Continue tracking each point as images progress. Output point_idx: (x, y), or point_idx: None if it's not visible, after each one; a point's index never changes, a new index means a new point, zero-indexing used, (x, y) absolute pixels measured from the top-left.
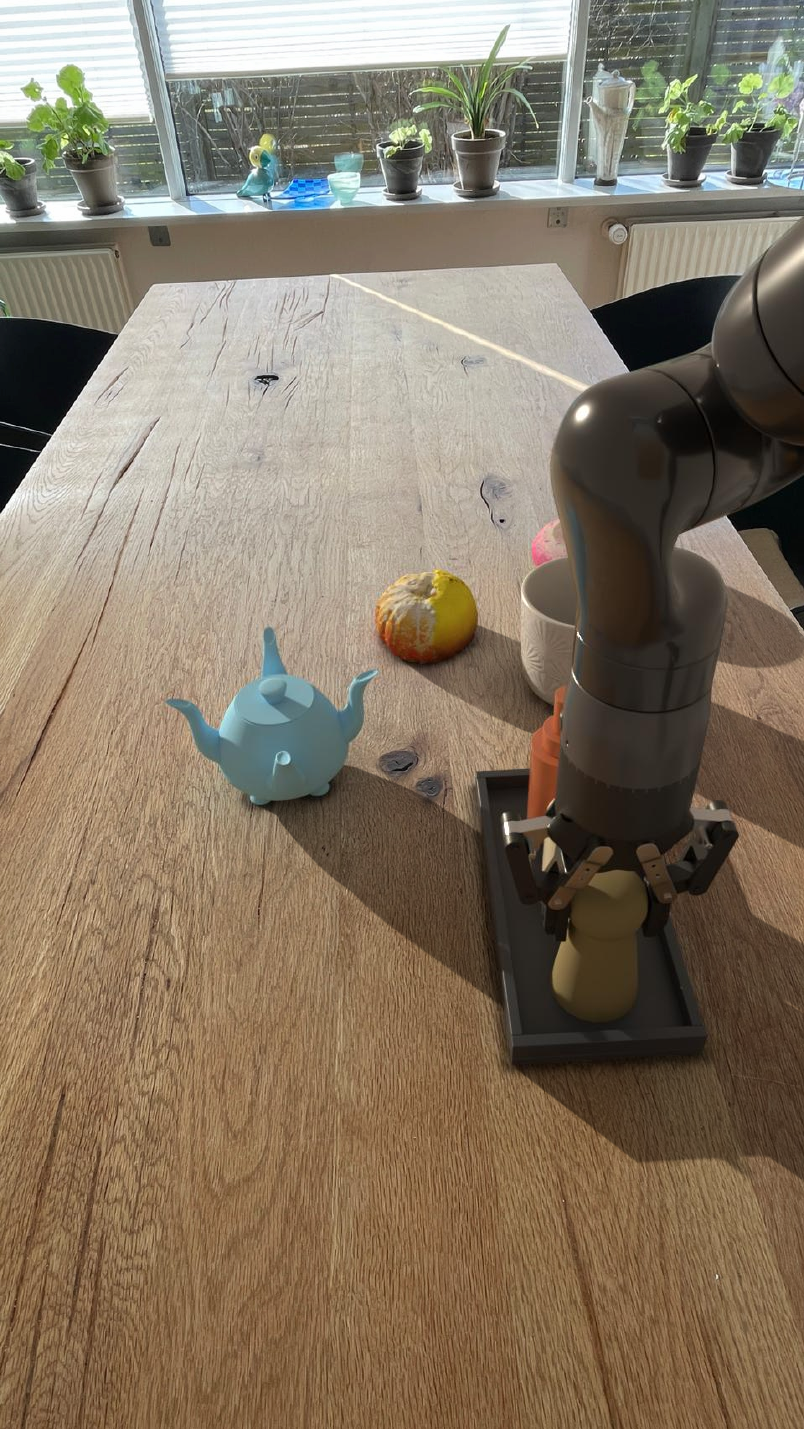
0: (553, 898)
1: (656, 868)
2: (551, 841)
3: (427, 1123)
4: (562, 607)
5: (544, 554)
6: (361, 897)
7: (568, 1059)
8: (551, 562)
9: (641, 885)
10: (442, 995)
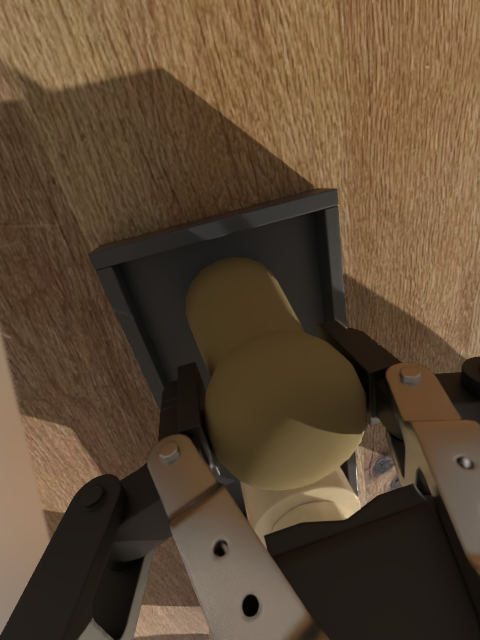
0: (435, 384)
1: (235, 591)
2: (342, 472)
3: (412, 89)
4: None
5: None
6: (449, 349)
7: (256, 205)
8: None
9: (229, 461)
10: (385, 261)
